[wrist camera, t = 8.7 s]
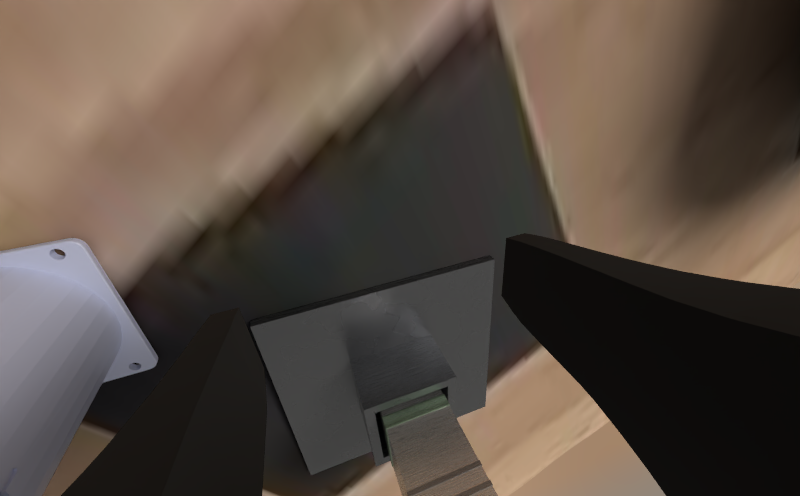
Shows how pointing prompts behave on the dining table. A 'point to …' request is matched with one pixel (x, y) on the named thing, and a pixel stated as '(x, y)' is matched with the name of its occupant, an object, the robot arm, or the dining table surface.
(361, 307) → the stand
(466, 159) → the dining table surface
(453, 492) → the column
